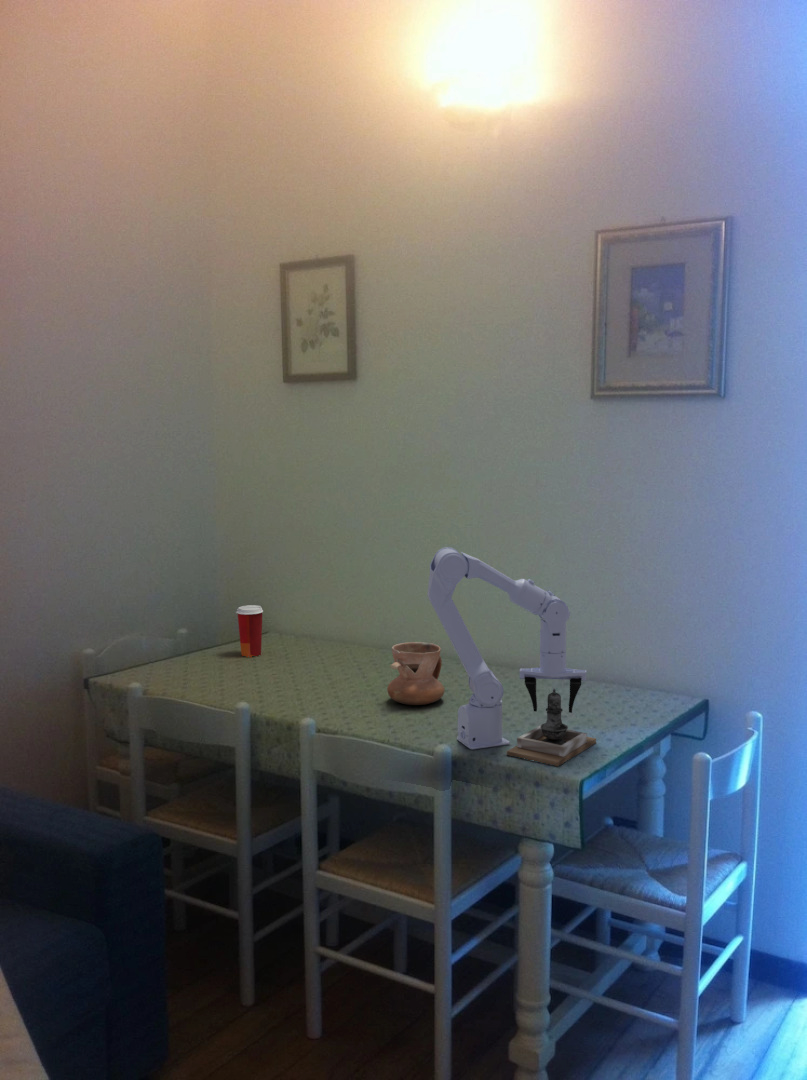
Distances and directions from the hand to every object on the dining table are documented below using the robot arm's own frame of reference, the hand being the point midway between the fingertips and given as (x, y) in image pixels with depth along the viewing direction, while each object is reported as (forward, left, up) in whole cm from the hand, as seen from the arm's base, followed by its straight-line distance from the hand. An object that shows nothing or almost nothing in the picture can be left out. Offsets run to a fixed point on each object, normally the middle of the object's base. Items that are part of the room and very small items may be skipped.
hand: (552, 710), depth 214 cm
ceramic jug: (-17, +40, -7) cm, 44 cm away
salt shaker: (-3, -5, -6) cm, 8 cm away
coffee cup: (-46, +107, -7) cm, 116 cm away
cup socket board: (-4, -6, -6) cm, 9 cm away
